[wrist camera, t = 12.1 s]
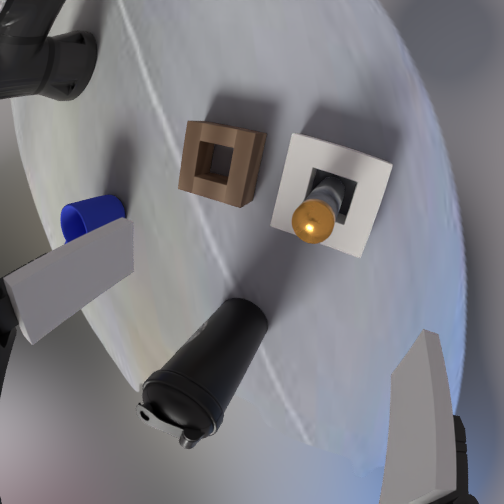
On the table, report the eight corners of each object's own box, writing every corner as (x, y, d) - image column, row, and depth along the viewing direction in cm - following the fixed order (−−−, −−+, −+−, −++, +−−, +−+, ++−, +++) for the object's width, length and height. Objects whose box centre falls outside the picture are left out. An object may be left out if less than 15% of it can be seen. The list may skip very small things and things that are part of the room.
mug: (89, 216, 51) (50, 233, 42) (114, 180, 45) (69, 194, 36) (109, 249, 52) (71, 270, 43) (137, 217, 46) (94, 237, 37)
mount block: (194, 183, 39) (178, 188, 36) (204, 121, 35) (187, 120, 32) (252, 200, 37) (240, 208, 34) (266, 133, 33) (255, 133, 30)
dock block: (279, 217, 37) (269, 226, 33) (300, 133, 32) (292, 133, 28) (360, 245, 34) (360, 258, 31) (389, 161, 29) (392, 164, 26)
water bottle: (224, 282, 44) (125, 384, 24) (283, 314, 42) (213, 440, 23) (208, 325, 49) (127, 419, 29) (259, 353, 47) (195, 463, 28)
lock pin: (315, 198, 34) (287, 235, 22) (322, 173, 33) (297, 196, 21) (340, 206, 33) (326, 249, 21) (348, 181, 32) (339, 210, 20)
